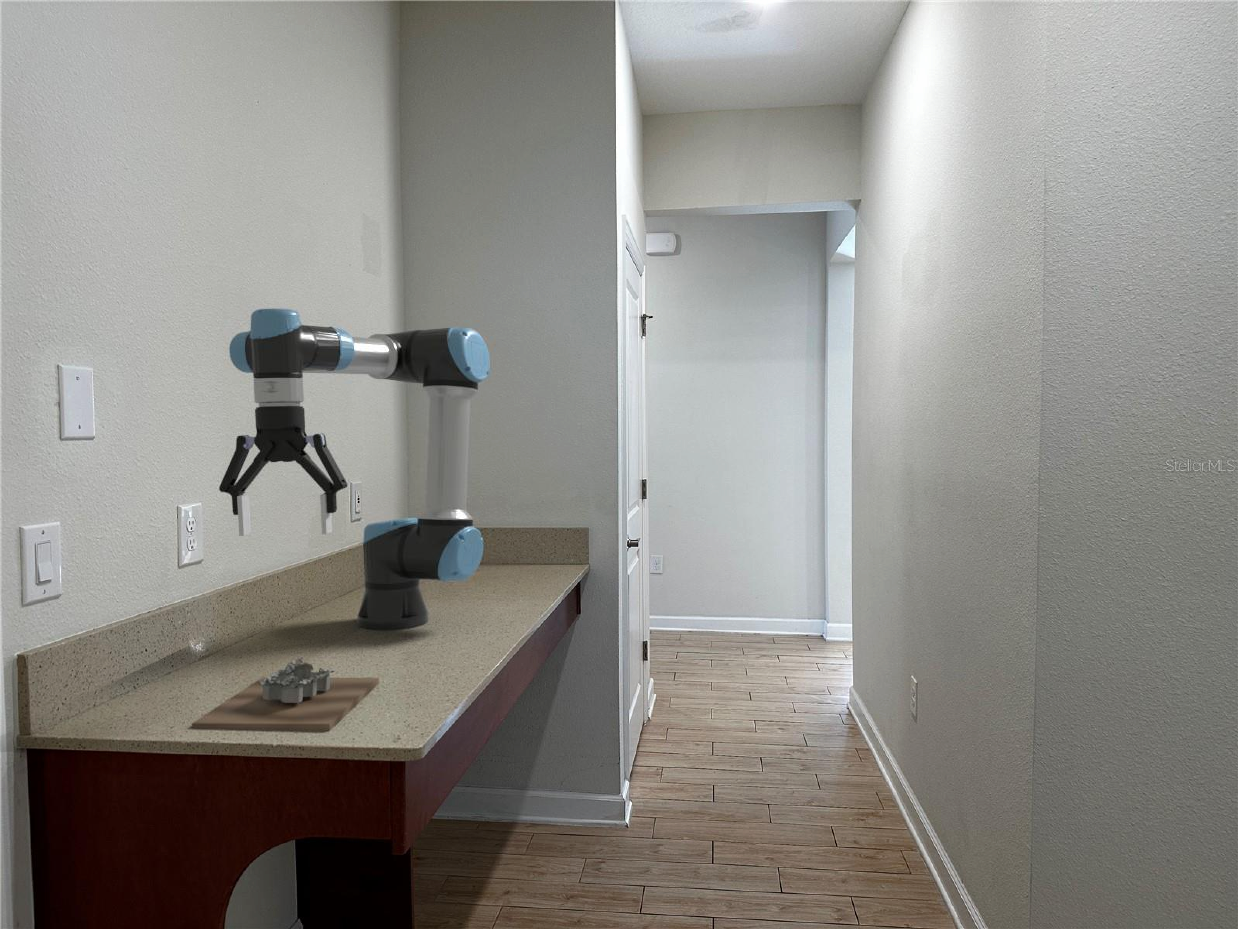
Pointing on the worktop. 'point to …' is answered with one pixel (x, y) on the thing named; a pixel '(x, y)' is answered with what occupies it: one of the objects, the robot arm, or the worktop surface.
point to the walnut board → (289, 708)
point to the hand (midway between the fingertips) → (286, 534)
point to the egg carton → (295, 682)
